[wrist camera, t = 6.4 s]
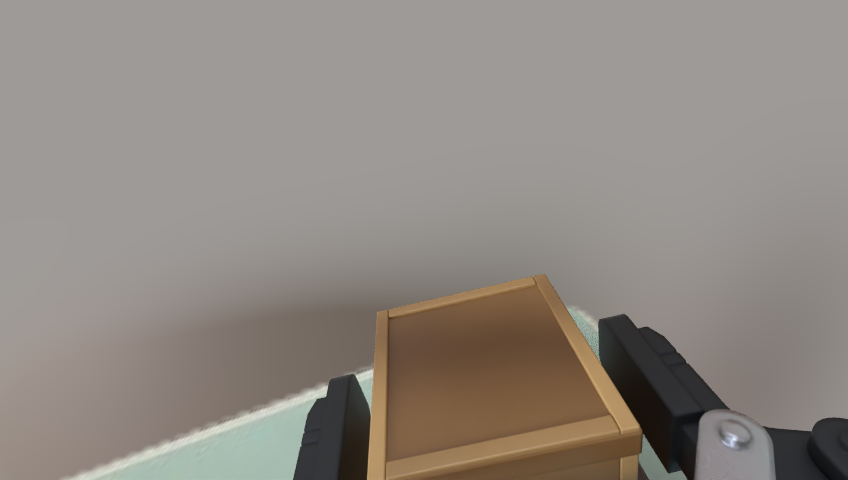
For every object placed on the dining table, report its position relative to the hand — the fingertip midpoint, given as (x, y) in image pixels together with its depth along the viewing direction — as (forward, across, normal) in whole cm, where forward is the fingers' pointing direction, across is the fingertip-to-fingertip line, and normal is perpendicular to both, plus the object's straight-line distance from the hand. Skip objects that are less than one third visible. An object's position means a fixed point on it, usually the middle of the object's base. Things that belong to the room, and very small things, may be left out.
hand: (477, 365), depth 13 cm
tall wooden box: (-2, 0, +9) cm, 9 cm away
